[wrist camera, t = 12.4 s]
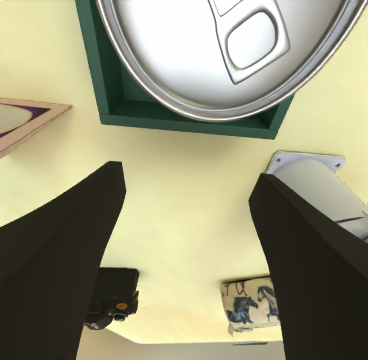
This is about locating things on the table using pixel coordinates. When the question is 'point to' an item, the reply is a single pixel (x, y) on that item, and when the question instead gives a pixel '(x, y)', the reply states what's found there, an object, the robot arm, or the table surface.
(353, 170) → the table surface
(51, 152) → the table surface
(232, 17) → the can
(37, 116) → the greeting card
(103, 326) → the film camera
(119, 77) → the tote
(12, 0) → the table surface
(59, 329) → the robot arm
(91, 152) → the table surface
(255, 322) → the pencil case
